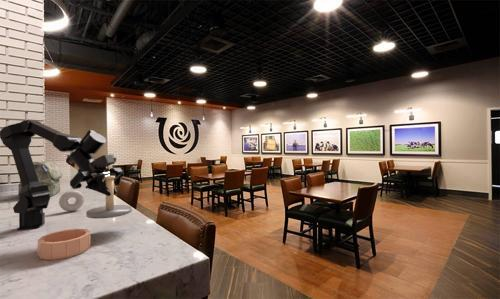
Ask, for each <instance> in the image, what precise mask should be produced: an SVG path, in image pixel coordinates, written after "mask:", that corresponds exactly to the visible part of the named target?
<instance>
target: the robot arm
mask: <svg viewBox="0 0 500 299" xmlns="http://www.w3.org/2000/svg"><path fill="white" fill-rule="evenodd" d="M35 136H38V137H40V138H42V139H44V140H47V141H49V142H50V143H51V144H52V145H53V147H54V148H55V149H57V150H58V151H59V152H62V153H63V152H64V153H67V152H68V153H69V152H70V154H67V155H66V159H65V162H66V163H74V164H75V165H76V167H77V168H78V169H77V172H76V174H75V175H74V176H73V177H72V178H71V180H70V181H69V185H70V187H71V188H72V190H77V189H81V187H82V186H83V185H82V183H83V182H86V184H87V185H86V186H85V189H89V190H92V191H94V192H97V193H100V194H102V195H105V196H106V195H107V196H110V195H111V193H110V191H109V189H108V188H107V187H106V179H104V176H115V179H114V182H116V180H117V179H118V178H119V177H120V176H121V175H122V174H123V172H124V171H123V170H122V168H121V167H110V168H109V170H108V167H109V166H111V165H115V164H116V162H117V157H116V156H115V155H114V154H111V153H110V154H103V155H101V156H98V157H97V158H94V156H93V155H92V154H97V153H98V151H100V149H102V147H103V146H104V145H105V144H106V143H107V138H106V137H105V136H103V135H101V134H100V133H98V132H96V131H95V130H91V129H89V130H87V132H86V134H85V135H84V136H83V137H82V138H81V137H80V136H77V135H73V134H68V133H63V132H60V131H58V130H57V129H54V128H53V127H51V126H48V125H46V124H44V123H42V122H41V121H39V120H34V119H24V120H22V121H20V122H16V123H12V124H10V125H6V126H4V127H2V128H1V129H0V140H1V142H2V144H3V145H4V146H5V147H6V148H8V150H10V151H11V154H12V157H13V160H14V164H15V167H16V170H17V173H18V176H19V179H20V180H21V184H22V188H21V191H20V193H19V199H18V201H17V202H16V203H15V205H14V206H13V208H12V209H13V213H14V214H18V222H19V223H18V226H19V227H17V228H16V230H17V231H18V230H31V229H38V228H41V227H42V226H43V225H45V223H46V217H45V216H46V215H45V212H44V209H47V208H48V207H49V203H50V201H51V196H50V192H49V189H48V186H47V185H42V184H41V183H40V182H39V180H38V177H37V174H36V170H35V167H34V164H33V162H34V161H33V158H32V154H31V152H30V148H29V147H30V145H31V143H32V137H33V138H34V137H35ZM107 170H108V171H107ZM105 171H106V172H105ZM20 180H19V181H20ZM117 191H118V190H117V188H116V185H115V183H114V196H115V195H117V194H118V193H117Z"/></svg>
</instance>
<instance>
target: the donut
mask: <svg viewBox="0 0 500 299" xmlns="http://www.w3.org/2000/svg"><path fill="white" fill-rule="evenodd" d="M71 198H74V199H75V202H74V203H69V199H71ZM84 203H85V196H84V195H83V193H82V192H81V191H79V190H77V189H72V190H68V191H65V192H64V193H63V194H61V196H60V197H59V200H58V204H59V207H60V209H62V210H63V211H64V212H74V211H77V210H79V209H80V208H82V207H83V206H84Z"/></svg>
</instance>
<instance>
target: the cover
mask: <svg viewBox="0 0 500 299" xmlns="http://www.w3.org/2000/svg"><path fill="white" fill-rule="evenodd" d="M104 179H106V187H107V188H108V189H109V191H110V193H111V195H110V196H107V195H105V205H103V206H98V207H94V208H91V209H88V210H86V213H85V214H86V215H85V216H86V218H88V219H110V218H116V217H117V218H118V217H122V216H125V215H128V214H130V213H132V212H133V210H132V209H133V208H132V206H130V205H125V204H115V203H114V202H115V197H114V196H115V195H114V184H115V181H114V179H115V176H104Z"/></svg>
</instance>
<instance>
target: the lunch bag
mask: <svg viewBox="0 0 500 299" xmlns="http://www.w3.org/2000/svg"><path fill="white" fill-rule="evenodd" d="M33 164H34V167H35V170H36V174H37V177H38V180H39V182H40V183H41V184H42V185H47V186H48V189H49V192H50V197H53V196H55V195H56V194H58V193H60V192H61V186H60V185H61V184H60V183H61V182H60V181H61V179H62V178H63V174H62V171H61V170H60V168H59V167H58V165H57V164H56V162H54V161H52V160H43V161H42V160H41V161H33ZM21 188H22V184H21V180H19V183H18V195H17V196H19V193H20V191H21Z"/></svg>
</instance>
